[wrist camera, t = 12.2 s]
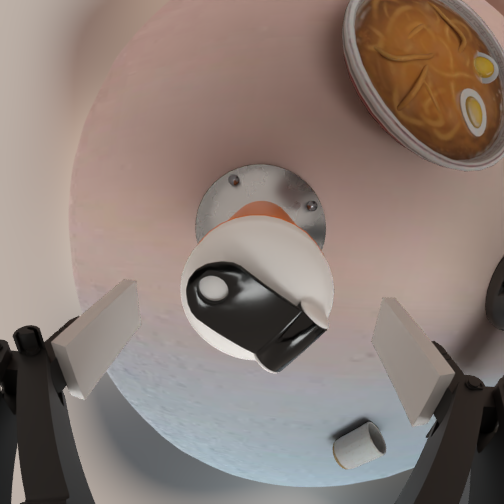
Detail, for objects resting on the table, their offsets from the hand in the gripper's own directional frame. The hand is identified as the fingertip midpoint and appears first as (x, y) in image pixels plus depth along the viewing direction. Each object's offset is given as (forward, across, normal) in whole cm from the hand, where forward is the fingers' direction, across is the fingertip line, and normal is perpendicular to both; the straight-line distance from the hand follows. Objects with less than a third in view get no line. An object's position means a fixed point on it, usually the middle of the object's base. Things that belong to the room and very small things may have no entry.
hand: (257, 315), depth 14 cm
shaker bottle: (+19, 0, 0) cm, 19 cm away
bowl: (+20, +17, +21) cm, 34 cm away
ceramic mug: (+21, +21, -38) cm, 48 cm away
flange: (+20, -1, 0) cm, 20 cm away
